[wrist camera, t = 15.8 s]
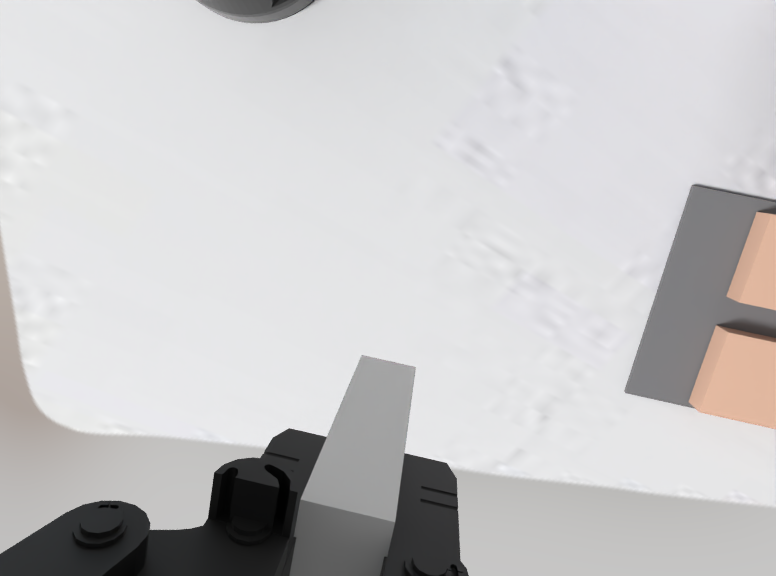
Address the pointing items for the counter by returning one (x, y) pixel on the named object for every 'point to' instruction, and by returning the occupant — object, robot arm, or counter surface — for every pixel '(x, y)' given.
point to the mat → (697, 295)
